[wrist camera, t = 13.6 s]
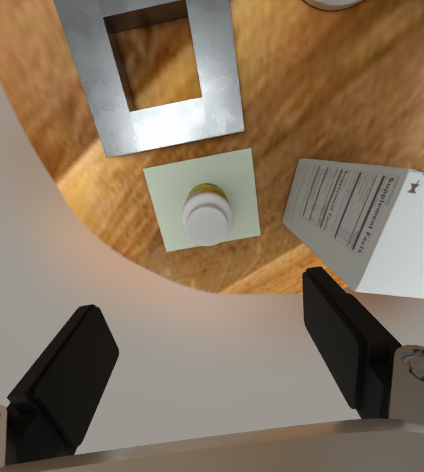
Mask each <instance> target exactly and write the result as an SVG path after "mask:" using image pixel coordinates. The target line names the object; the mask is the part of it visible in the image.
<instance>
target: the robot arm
mask: <svg viewBox="0 0 424 472" xmlns="http://www.w3.org/2000/svg"><path fill="white" fill-rule="evenodd" d="M305 1H306V2H307V3H308V4H310V5H312V6H315V7H317V8H319V9H324V10H341V9H345V8H348V7H351V6H354V5H355V4H357V3H359V2H361V1H362V0H305ZM302 278H303V307H304V323H305V326H306V328H307V330H308V332H309V334H310V336H311V338H312V339H313V341H314V343H315V345H316V347H317V348H318V350H319V352H320V354H321V355H322V358H323V359H324V361H325V363H326V365H327V367H328V368H329V370H330V372H331V374H332V376H333V377H334V380H335V381H336V383H337V385H338V387H339V389H340V390H341V392H342V394H343V396H344V398H345V400H346V401H347V403H348V405H349V406H350V408H352V409H356V410H357V412H358V413H359V415H360V417H361V419H357V420H344V421H335V422H326V423H316V424H307V425H298V426H290V427H282V428H274V429H266V430H258V431H251V432H242V433H234V434H227V435H219V436H211V437H204V438H196V439H189V440H181V441H173V442H166V443H159V444H151V445H144V446H136V447H129V448H122V449H115V450H107V451H100V452H93V453H86V454H79V455H74V454H75V451H76V449H77V447H78V446H79V445H80V444H81V443H82V441H83V439H84V437H85V435H86V432H87V430H88V428H89V425H90V423H91V420H92V418H93V416H94V413H95V411H96V409H97V406H98V404H99V402H100V399H101V397H102V394H103V392H104V390H105V387H106V385H107V382H108V380H109V378H110V375H111V373H112V371H113V368H114V366H115V364H116V361H117V359H118V356H119V349H118V347H117V345H116V342H115V340H114V338H113V336H112V334H111V332H110V330H109V328H108V325H107V323H106V321H105V319H104V317H103V314H102V312H101V310H100V309H99V307H96V306H95V305H93V304H92V305H86V306H81V307H79V308H78V309H77V310H76V311H75V313H74V314H73V315H72V316H71V318H70V319H69V320H68V321H67V323H66V324H65V325H64V326H63V328H62V329H61V330H60V332H59V333H58V334H57V335H56V337H55V338H54V339H53V340H52V341H51V343H50V344H49V345H48V346H47V348H46V349H45V350H44V351H43V353H42V354H41V355H40V357H39V358H38V359H37V360H36V361H35V363H34V364H33V365H32V366H31V368H30V369H29V370H28V372H27V373H26V374H25V375H24V377H23V378H22V379H21V380H20V382H19V383H18V384H17V385H16V387H15V388H14V389H13V390H12V392H11V393H10V394H9V395H8V397H7V398H8V400H9V401H10V402H11V403H10V404H9V406H8V407H7V408H6V407H5V406H3V405H0V472H424V347H422V346H418V345H405V346H402V345H401V344H400V343H399V342H398V341H397V340H396V339H395V338H394V337H393V336H392V335H391V334H390V333H389V332H388V331H387V330H386V329H385V328H384V327H383V326H382V325H381V324H380V323H379V322H378V321H377V319H376V318H375V317H373V315H372V314H371V313H370V312H369V311H368V310H367V309H366V308H365V307H364V306H363V305H362V304H361V303H360V302H359V301H358V300H357V299H356V298H355V297H354V296H353V295H351V294H347V293H346V292H345V291H344V290H343V289H342V288H341V287H340V286H339V285H338V284H337V283H336V282H335V281H334V280H333V278H332V277H331V276H330V275H329V274H328V273H327V272H326V271H325V270H324V269H323V268H322V267H320V266H319V267H313V268H307V269H306V272H304V273H303V274H302ZM372 418H373V419H372Z"/></svg>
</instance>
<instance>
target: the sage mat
mask: <svg viewBox="0 0 424 472" xmlns="http://www.w3.org/2000/svg"><path fill="white" fill-rule="evenodd" d="M143 171H144V174H145V178H146V181H147V185H148V188H149V192H150V195H151V199H152V202H153V206H154V209H155V213H156V216H157V220H158V223H159V227H160V230H161V234H162V237H163V241H164V244H165V248H166V251H167V252H169V251H174V250H180V249H186V248H191V247H197V246H202V245H199V244H197V243H195V242H194V241H193V240H192V239H191V238H189V237H188V236H187V235H186V233H185V232H184V230H183V228H182V225H181V212H182V209H183V206H184V204H185V201H186V199H187V197H188V194H189V193H190V191H191V190H192V189H193V188H194V187H196V186H197V185H200V184H203V183H211V184H214V185H217V186H218V187H220V188H221V189H222V190H223V191H224V193H225V194H226V196H227V199H228V201H229V203H230V206H231V208H232V211H233V217H234V221H233V226H232V229H231V231H230V232H229V234H228V235H227V236H226V237H225V238H224V239H223V240H222V241H221V242H225V241H231V240H237V239H243V238H248V237H254V236H260V225H259V216H258V207H257V198H256V188H255V179H254V170H253V160H252V151H251V148H247V149H242V150H237V151H232V152H227V153H221V154H216V155H211V156H206V157H201V158H196V159H191V160H185V161H180V162H175V163H170V164H165V165H160V166H154V167H149V168H144V169H143ZM219 243H220V242H219Z"/></svg>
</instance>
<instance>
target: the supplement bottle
mask: <svg viewBox="0 0 424 472" xmlns="http://www.w3.org/2000/svg"><path fill="white" fill-rule="evenodd" d="M233 221H234V217H233V211H232V208H231V206H230V203H229V201H228V199H227V196H226V194H225V193H224V191H223V190H222V189H221V188H220V187H218V186H217V185H214V184H211V183H203V184H200V185H197V186H196V187H194V188H193V189H192V190H191V191H190V193H189V194H188V197H187V199H186V201H185V204H184V206H183V209H182V212H181V225H182V228H183V230H184V232H185V233H186V235H187V236H188V237H189V238H191V239H192V240H193V241H194V242H195V243H197V244H199V245H202V246H212V245H215V244H218V243H219V242H221V241H222V240H223V239H224V238H225V237H226V236H227V235H228V234H229V232H230V231H231V229H232V226H233Z"/></svg>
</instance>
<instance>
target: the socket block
mask: <svg viewBox="0 0 424 472" xmlns="http://www.w3.org/2000/svg"><path fill="white" fill-rule="evenodd" d="M53 1H54V4H55V6H56V9H57V12H58V15H59V18H60V21H61V24H62V27H63V30H64V33H65V36H66V39H67V42H68V45H69V48H70V51H71V54H72V57H73V60H74V63H75V66H76V69H77V71H78V74H79V77H80V80H81V83H82V86H83V89H84V92H85V95H86V98H87V101H88V104H89V107H90V110H91V113H92V116H93V119H94V122H95V125H96V128H97V131H98V134H99V136H100V139H101V142H102V145H103V148H104V151H105V154H106V157H107V158H111V157H119V156H124V155H129V154H134V153H139V152H144V151H149V150H154V149H159V148H164V147H169V146H174V145H179V144H184V143H190V142H195V141H200V140H205V139H210V138H215V137H220V136H225V135H230V134H235V133H240V132H243V131H244V123H243V114H242V105H241V97H240V88H239V79H238V71H237V62H236V53H235V44H234V36H233V27H232V18H231V10H230V1H229V0H53ZM183 17H188V19H189V25H190V31H191V36H192V42H193V48H194V54H195V60H196V66H197V72H198V77H199V83H200V89H201V95H202V97H200V98H195V99H191V100H186V101H181V102H176V103H171V104H166V105H162V106H157V107H152V108H147V109H142V110H137V111H136V109H135V105H134V101H133V98H132V94H131V90H130V87H129V83H128V79H127V76H126V72H125V68H124V64H123V61H122V57H121V53H120V50H119V46H118V42H117V39H116V35H115V33H116V32H120V31H125V30H129V29H134V28H138V27H143V26H147V25H152V24H156V23H161V22H165V21H170V20H174V19H179V18H183Z"/></svg>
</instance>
